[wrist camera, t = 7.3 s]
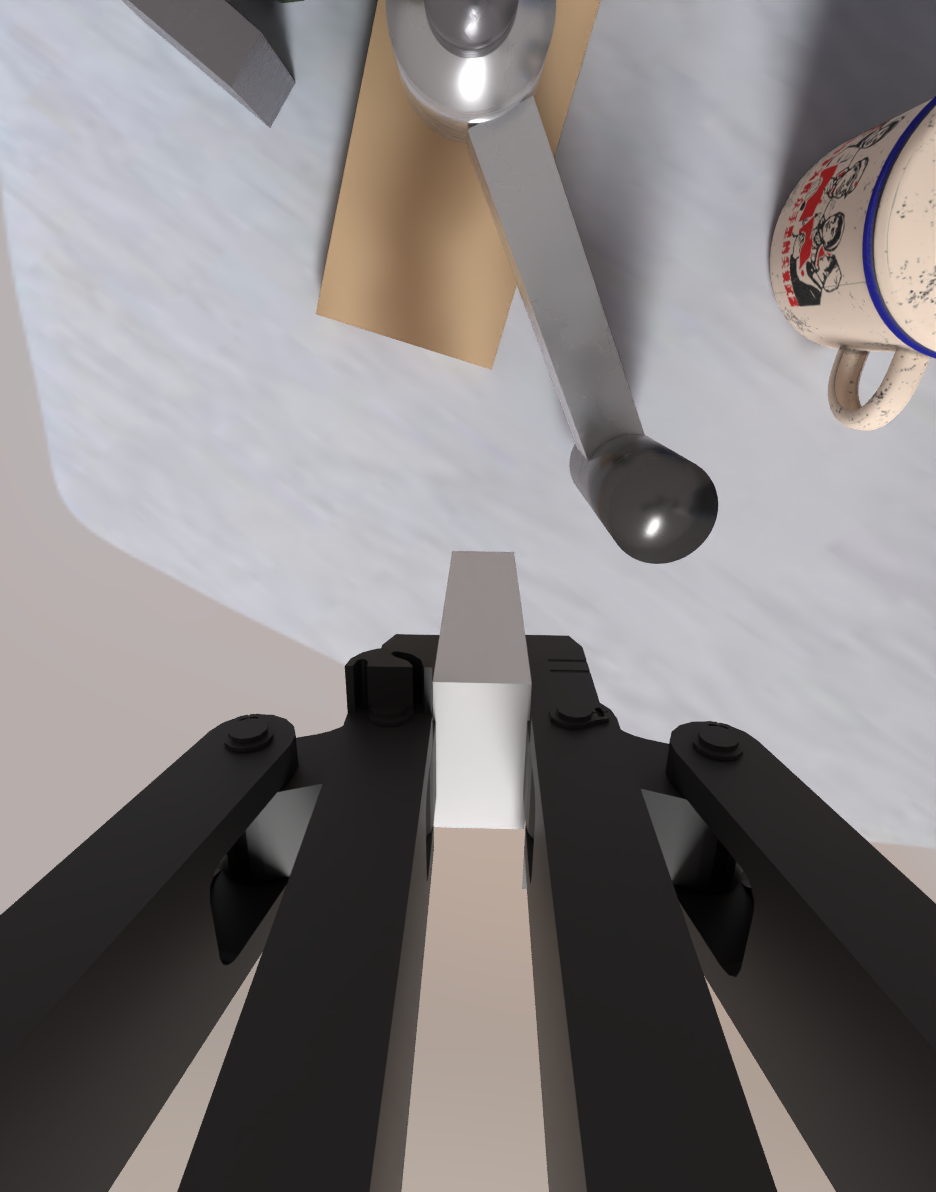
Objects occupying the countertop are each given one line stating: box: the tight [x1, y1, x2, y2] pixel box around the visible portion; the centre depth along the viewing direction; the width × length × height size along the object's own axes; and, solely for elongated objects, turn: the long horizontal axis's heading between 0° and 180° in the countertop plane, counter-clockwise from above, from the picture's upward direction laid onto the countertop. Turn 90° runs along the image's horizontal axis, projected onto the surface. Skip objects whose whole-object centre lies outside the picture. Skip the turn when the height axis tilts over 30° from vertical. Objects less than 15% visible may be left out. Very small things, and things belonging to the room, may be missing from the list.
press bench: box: [316, 0, 601, 370], centre depth 27 cm, size 8×18×2 cm, turn 163°
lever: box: [386, 0, 718, 564], centre depth 22 cm, size 28×5×9 cm, turn 23°
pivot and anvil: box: [122, 0, 519, 127], centre depth 23 cm, size 15×6×10 cm, turn 73°
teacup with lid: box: [770, 96, 936, 431], centre depth 25 cm, size 12×9×12 cm
